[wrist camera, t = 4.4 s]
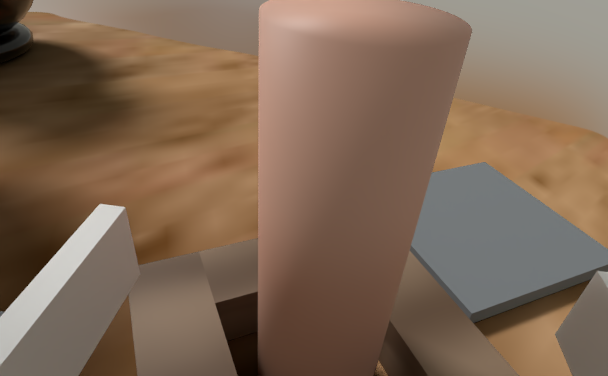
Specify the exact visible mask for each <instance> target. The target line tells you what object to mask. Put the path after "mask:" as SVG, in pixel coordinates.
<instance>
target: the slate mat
mask: <svg viewBox="0 0 608 376" xmlns="http://www.w3.org/2000/svg"><path fill="white" fill-rule="evenodd" d="M410 251H411V253H412V254H413V255H414V256H415V257H416V258H417V259H418V261H419V262H420V263H421V264H422V265H423V266H424V267H425V269H426V270H427V271H428V272H429V273H430V274H431V275H432V277H433V278H434V279H435V280H436V281H437V282H438V283H439V285H440V286H441V287H442V288H443V289H444V290H445V291H446V293H447V294H448V295H449V296H450V297H451V298H452V299H453V301H454V302H455V303H456V304H457V305H458V306H459V307H460V309H461V310H462V311H463V312H464V313H465V314H466V315H467V317H468V318H469V319H470V320H471V321H472V322H473V323H475V322H478V321H480V320H483V319H486V318H488V317H491V316H494V315H496V314H499V313H502V312H504V311H507V310H510V309H513V308H515V307H518V306H521V305H523V304H526V303H529V302H531V301H534V300H537V299H539V298H542V297H545V296H547V295H550V294H553V293H555V292H558V291H561V290H563V289H566V288H569V287H571V286H574V285H577V284H579V283H582V282H585V281H587V280H590V279H592V278H593V276H594V275H595V273H596V272H597V271H603V272H608V249H607V248H605V247H604V246H602V245H601V244H600V243H598V242H597V241H595V240H594V239H593V238H591V237H590V236H588V235H587V234H586V233H584V232H583V231H581V230H580V229H578V228H577V227H576V226H574V225H573V224H571V223H570V222H569V221H567V220H566V219H564V218H563V217H562V216H560V215H559V214H557V213H556V212H555V211H553V210H552V209H550V208H549V207H547V206H546V205H545V204H543V203H542V202H540V201H539V200H538V199H536V198H535V197H533V196H532V195H531V194H529V193H528V192H526V191H525V190H524V189H522V188H521V187H519V186H518V185H516V184H515V183H514V182H512V181H511V180H509V179H508V178H507V177H505V176H504V175H502V174H501V173H500V172H498V171H497V170H495V169H494V168H493V167H491V166H490V165H488V164H487V163H486V162H483V163H478V164H473V165H468V166H463V167H458V168H453V169H448V170H443V171H438V172H433V173H431V177H430V180H429V184H428V187H427V191H426V194H425V198H424V202H423V205H422V209H421V212H420V216H419V219H418V223H417V226H416V230H415V233H414V237H413V240H412V244H411V247H410Z"/></svg>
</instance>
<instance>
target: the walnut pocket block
mask: <svg viewBox="0 0 608 376" xmlns="http://www.w3.org/2000/svg"><path fill="white" fill-rule="evenodd" d="M138 266H139V270H140V276H139V277H138V279H137V281H136V282H135V284H134V286H133V287H132V289H131V290H130V292H129V294H128V295H129V304H130V313H131V322H132V331H133V340H134V349H135V358H136V367H137V376H237V372H236V369H235V366H234V363H233V360H232V356H231V353H230V350H229V347H228V343H227V341H229V340H232V339H235V338H238V337H242V336H245V335H248V334H251V333H254V332H258V238H257V239H252V240H248V241H243V242H239V243H235V244H230V245H226V246H221V247H217V248H213V249H208V250H204V251H199V252H195V253H191V254H186V255H182V256H177V257H173V258H169V259H164V260H160V261H155V262H151V263H147V264H142V265H138ZM379 361H380V363H381V364H382V366H383V368H384V369H385V371H386V372H387V374H388V376H519V375H518V374H517V373H516V371H515V370H514V369H513V368H512V367H511V366H510V365H509V363H508V362H507V361H506V360H505V359H504V358H503V357H502V355H501V354H500V353H499V352H498V351H497V350H496V349H495V347H494V346H493V345H492V344H491V343H490V342H489V341H488V339H487V338H486V337H485V336H484V335H483V334H482V333H481V331H480V330H479V329H478V328H477V327H476V326H475V325H474V323H473V322H472V321H471V320H470V319H469V318H468V317H467V315H466V314H465V313H464V312H463V311H462V310H461V309H460V307H459V306H458V305H457V304H456V303H455V302H454V301H453V299H452V298H451V297H450V296H449V295H448V294H447V293H446V291H445V290H444V289H443V288H442V287H441V286H440V285H439V283H438V282H437V281H436V280H435V279H434V278H433V277H432V275H431V274H430V273H429V272H428V271H427V270H426V269H425V267H424V266H423V265H422V264H421V263H420V262H419V261H418V259H417V258H416V257H415V256H414V255H413V254H412V253H411V251H409V254H408V258H407V261H406V265H405V268H404V272H403V275H402V279H401V282H400V286H399V289H398V293H397V296H396V300H395V303H394V307H393V310H392V314H391V317H390V321H389V324H388V328H387V331H386V335H385V338H384V342H383V345H382V349H381V352H380V356H379Z"/></svg>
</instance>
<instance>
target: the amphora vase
mask: <svg viewBox="0 0 608 376" xmlns="http://www.w3.org/2000/svg"><path fill="white" fill-rule="evenodd" d="M32 3H33V0H0V63H3V62H6V61H8V60H11V59H14V58H16V57H17V56H19V55H21V54H23V53H25V52H26V51H27V50H28V49H29V48H30V47H31V45H32V44H33V34H32V32H31V31H30V30H29V29H28V28H27V27H26V26H25V25H23V24H21V23H18V22H19V21H21V20H22V19H23V18H24V16H25V15H26V13H27V12H28V10H29V9H30V7H31V6H32Z"/></svg>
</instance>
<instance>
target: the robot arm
mask: <svg viewBox="0 0 608 376" xmlns="http://www.w3.org/2000/svg"><path fill="white" fill-rule="evenodd" d="M139 276H140V270H139V266H138V261H137V257H136V252H135V248H134V243H133V239H132V235H131V230H130V226H129V221H128V217H127V212H126V208H125V207H120V206H112V205H105V204H99V205H98V207H97V208H96V209H95V210H94V211H93V212H92V213H91V215H90V216H89V217H88V218H87V219H86V220H85V221H84V222H83V224H82V225H81V226H80V227H79V228H78V229H77V230H76V232H75V233H74V234H73V235H72V236H71V237H70V238H69V239H68V241H67V242H66V243H65V244H64V245H63V246H62V247H61V249H60V250H59V251H58V252H57V253H56V254H55V255H54V257H53V258H52V259H51V260H50V261H49V262H48V263H47V264H46V266H45V267H44V268H43V269H42V270H41V271H40V272H39V274H38V275H37V276H36V277H35V278H34V279H33V280H32V281H31V283H30V284H29V285H28V286H27V287H26V288H25V289H24V291H23V292H22V293H21V294H20V295H19V296H18V297H17V298H16V300H15V301H14V302H13V303H12V304H11V305H10V306H9V308H8V309H7V310H6V311H5V312H2V311H0V376H79V374H80V373H81V371H82V369H83V368H84V366H85V364H86V363H87V361H88V359H89V358H90V356H91V355H92V353H93V351H94V350H95V348H96V346H97V345H98V343H99V341H100V340H101V338H102V336H103V335H104V333H105V332H106V330H107V328H108V327H109V325H110V323H111V322H112V320H113V318H114V317H115V315H116V313H117V312H118V310H119V309H120V307H121V305H122V304H123V302H124V300H125V299H126V297H127V295H128V294H129V292H130V290H131V289H132V287H133V286H134V284H135V282H136V281H137V279H138V277H139ZM555 335H556V338H557V340H558V342H559V345H560V347H561V349H562V352H563V354H564V357H565V359H566V361H567V364H568V366H569V368H570V371H571V373H572V375H573V376H608V272H603V271H597V272H596V273H595V275H594V276H593V278H592V279H591V281H590V282H589V284H588V285H587V287H586V288H585V290H584V291H583V293H582V294H581V296H580V297H579V299H578V300H577V302H576V303H575V305H574V306H573V308H572V309H571V311H570V312H569V314H568V315H567V317H566V318H565V320H564V321H563V323H562V324H561V326H560V328H559V329H558V331H557V332H556V334H555Z"/></svg>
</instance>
